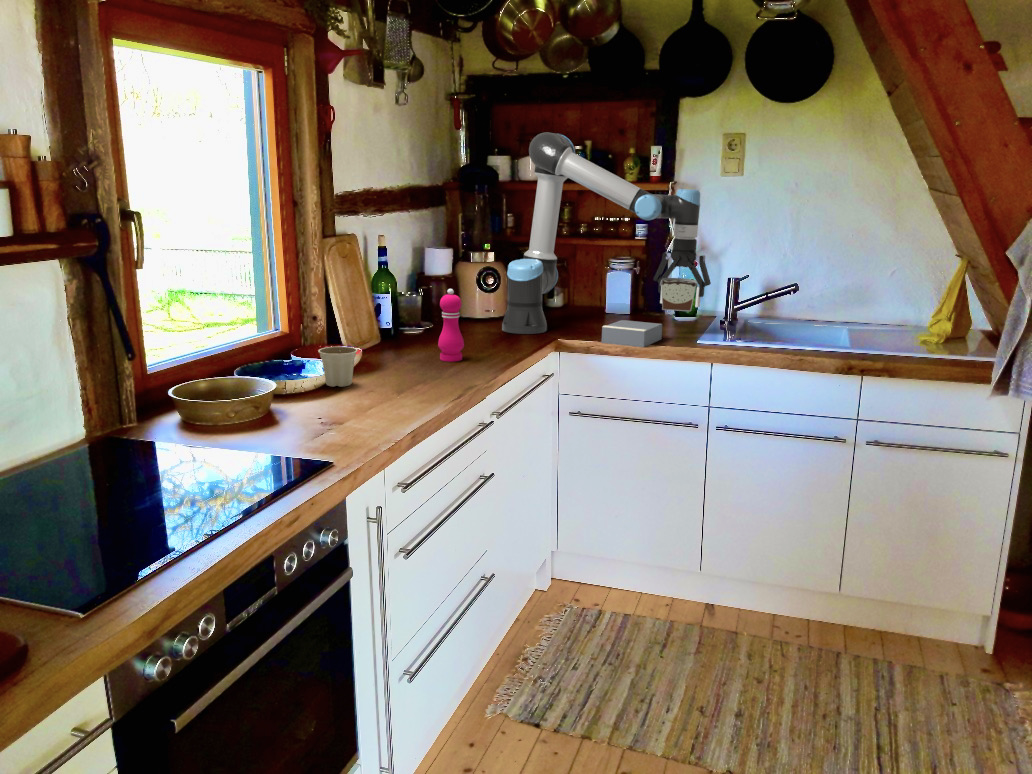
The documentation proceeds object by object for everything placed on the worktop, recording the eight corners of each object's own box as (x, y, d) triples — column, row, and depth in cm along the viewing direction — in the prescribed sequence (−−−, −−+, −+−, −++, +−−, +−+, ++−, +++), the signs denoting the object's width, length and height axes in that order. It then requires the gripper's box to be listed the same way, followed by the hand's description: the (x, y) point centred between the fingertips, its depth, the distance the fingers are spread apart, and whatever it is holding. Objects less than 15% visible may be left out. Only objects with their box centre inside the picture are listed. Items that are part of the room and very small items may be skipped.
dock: (601, 342, 261) (602, 326, 260) (621, 334, 275) (621, 319, 273) (643, 347, 254) (644, 330, 253) (661, 339, 268) (662, 323, 267)
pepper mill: (449, 355, 239) (448, 286, 234) (469, 358, 235) (468, 288, 230) (433, 359, 234) (432, 288, 229) (452, 363, 230) (452, 291, 225)
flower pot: (365, 381, 208) (364, 347, 206) (346, 390, 199) (345, 355, 197) (332, 378, 211) (331, 345, 208) (312, 387, 202) (310, 352, 200)
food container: (693, 308, 278) (696, 278, 276) (695, 311, 272) (698, 281, 270) (656, 306, 279) (658, 276, 277) (657, 309, 273) (660, 279, 271)
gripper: (646, 236, 272) (642, 302, 277) (717, 241, 261) (711, 309, 266) (654, 235, 278) (649, 299, 284) (724, 239, 267) (718, 307, 273)
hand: (679, 304), depth 275 cm, fingers closed on food container, 11 cm apart
